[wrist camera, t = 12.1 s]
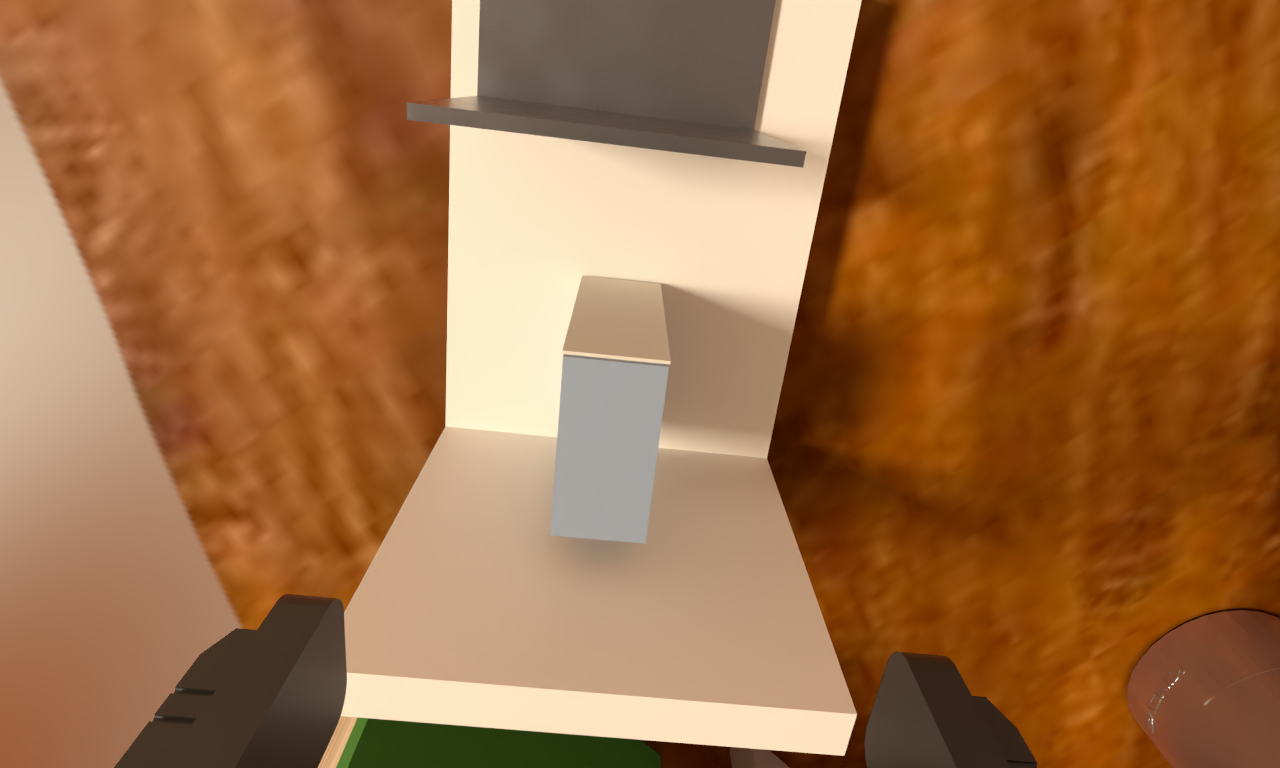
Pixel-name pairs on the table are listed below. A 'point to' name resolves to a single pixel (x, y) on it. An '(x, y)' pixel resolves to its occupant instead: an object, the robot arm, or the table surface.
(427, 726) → the hardback book
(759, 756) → the lighter
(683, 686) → the shelf
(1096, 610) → the table surface
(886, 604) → the table surface
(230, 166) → the table surface
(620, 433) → the small book
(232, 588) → the table surface
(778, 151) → the bookend
